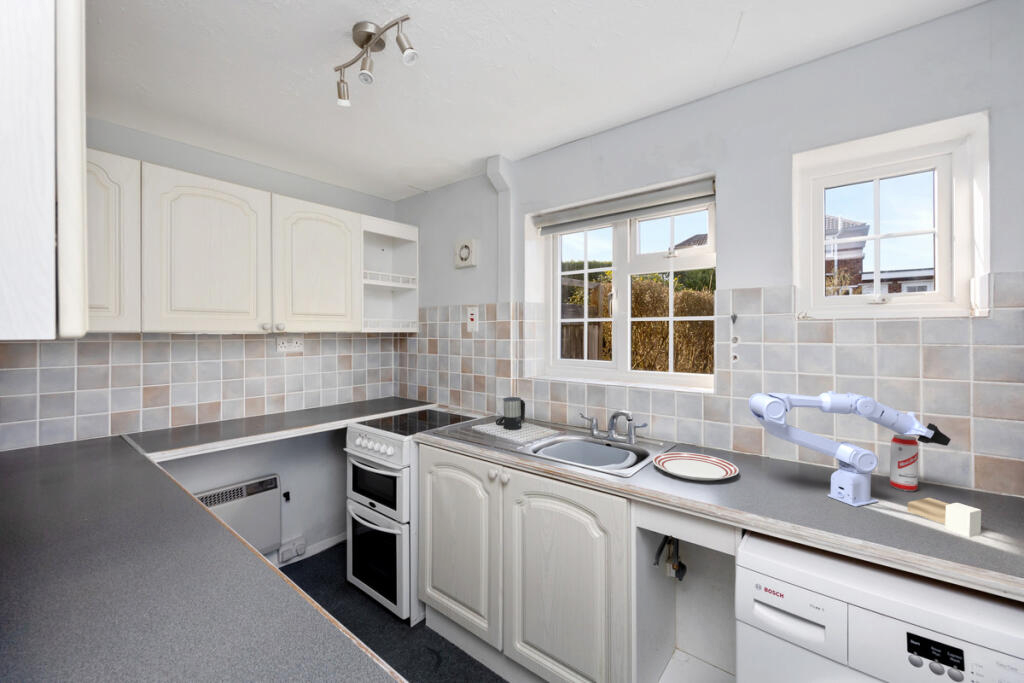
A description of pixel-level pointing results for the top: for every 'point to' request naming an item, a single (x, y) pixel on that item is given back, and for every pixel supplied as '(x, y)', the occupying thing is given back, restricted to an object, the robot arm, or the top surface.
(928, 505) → the oak block
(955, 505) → the white block
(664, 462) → the dinner plate
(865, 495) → the robot arm
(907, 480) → the beer can
